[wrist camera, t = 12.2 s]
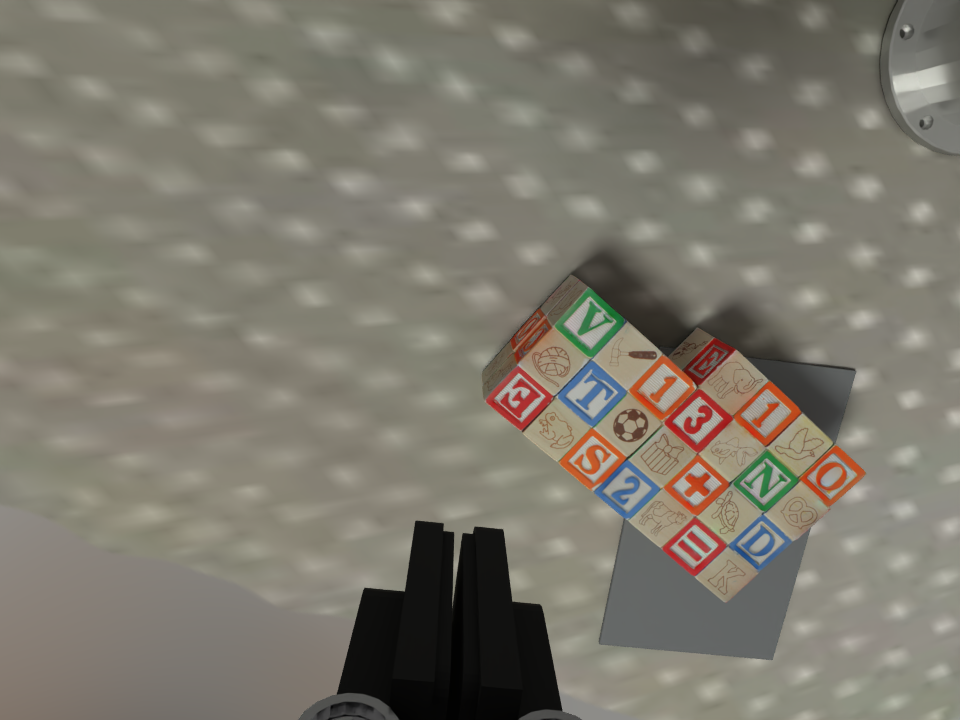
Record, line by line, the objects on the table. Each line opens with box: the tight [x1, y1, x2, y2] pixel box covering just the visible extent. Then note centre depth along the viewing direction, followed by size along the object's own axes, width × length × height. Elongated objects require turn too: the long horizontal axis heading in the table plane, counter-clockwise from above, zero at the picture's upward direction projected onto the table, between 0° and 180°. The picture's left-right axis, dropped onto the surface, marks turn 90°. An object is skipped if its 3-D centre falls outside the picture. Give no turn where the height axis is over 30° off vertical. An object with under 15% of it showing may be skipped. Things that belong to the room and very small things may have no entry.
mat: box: [599, 347, 856, 660], centre depth 46 cm, size 14×24×1 cm, turn 173°
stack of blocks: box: [482, 275, 866, 602], centre depth 40 cm, size 21×6×12 cm
